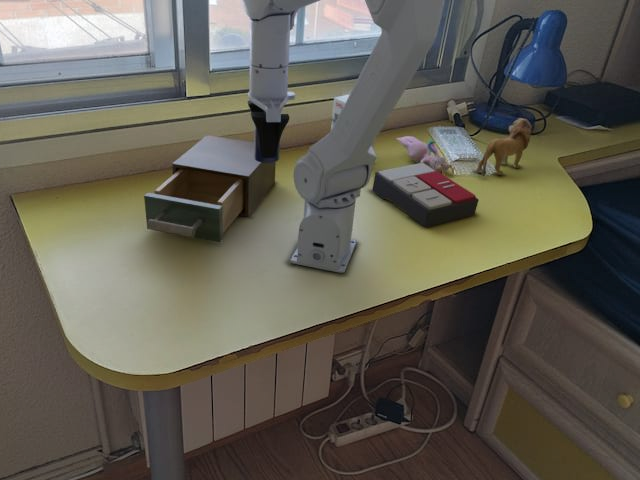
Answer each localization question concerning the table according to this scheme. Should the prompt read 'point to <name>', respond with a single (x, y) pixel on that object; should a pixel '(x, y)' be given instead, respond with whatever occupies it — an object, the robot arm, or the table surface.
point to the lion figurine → (508, 146)
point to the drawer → (195, 204)
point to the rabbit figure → (425, 154)
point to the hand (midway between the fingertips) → (266, 151)
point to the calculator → (425, 194)
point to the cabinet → (231, 166)
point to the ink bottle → (258, 154)
